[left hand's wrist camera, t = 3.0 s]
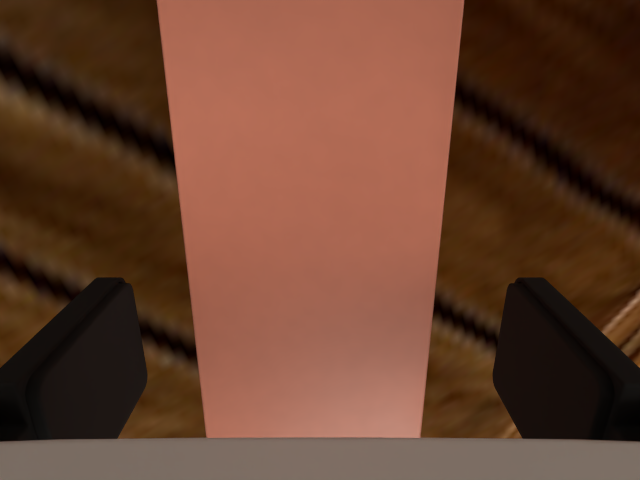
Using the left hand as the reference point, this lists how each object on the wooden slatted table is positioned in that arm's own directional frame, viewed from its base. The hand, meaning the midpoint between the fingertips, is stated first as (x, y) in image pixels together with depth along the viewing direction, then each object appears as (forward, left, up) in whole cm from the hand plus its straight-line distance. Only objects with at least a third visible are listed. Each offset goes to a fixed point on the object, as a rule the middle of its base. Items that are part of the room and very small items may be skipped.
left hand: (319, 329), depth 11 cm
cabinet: (+4, +4, -10) cm, 11 cm away
